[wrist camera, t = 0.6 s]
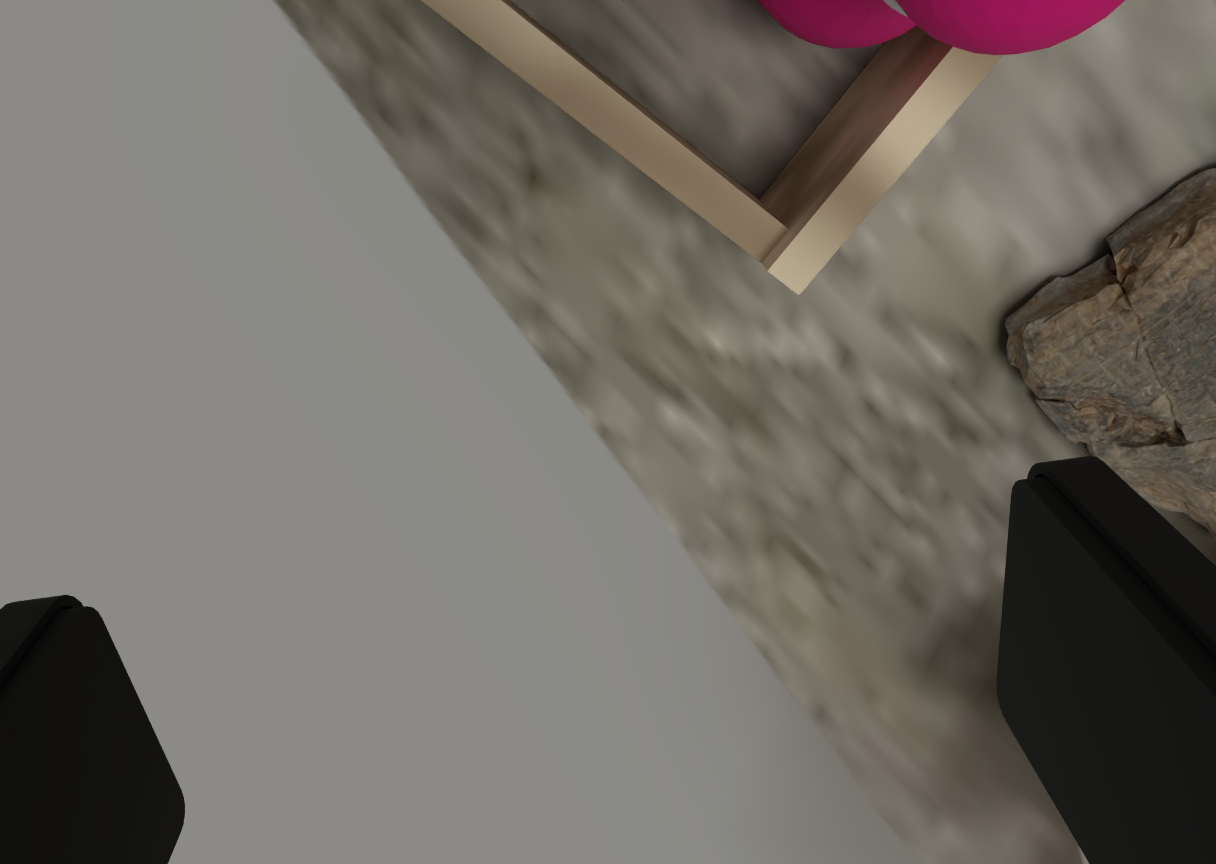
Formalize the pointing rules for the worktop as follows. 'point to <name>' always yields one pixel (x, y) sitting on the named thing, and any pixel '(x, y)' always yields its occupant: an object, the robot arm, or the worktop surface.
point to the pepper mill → (941, 21)
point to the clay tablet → (1136, 352)
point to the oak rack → (813, 179)
